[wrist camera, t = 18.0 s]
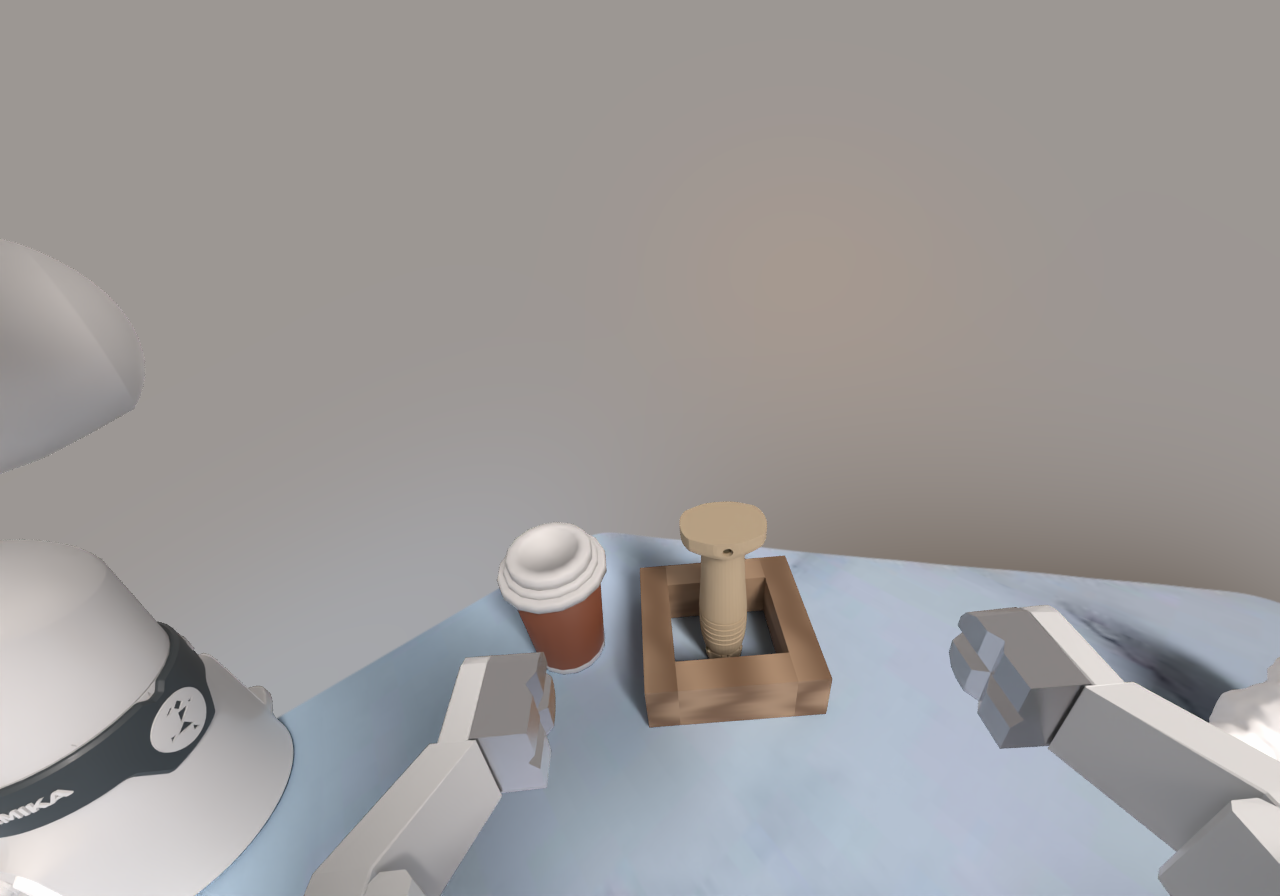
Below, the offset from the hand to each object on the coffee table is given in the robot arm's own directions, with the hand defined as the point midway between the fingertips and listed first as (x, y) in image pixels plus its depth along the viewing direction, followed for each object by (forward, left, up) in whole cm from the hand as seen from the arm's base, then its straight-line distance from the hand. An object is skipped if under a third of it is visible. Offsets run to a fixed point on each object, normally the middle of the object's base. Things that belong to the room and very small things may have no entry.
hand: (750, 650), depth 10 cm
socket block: (+3, +23, -31) cm, 39 cm away
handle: (+3, +23, -31) cm, 39 cm away
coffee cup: (-11, +25, -31) cm, 42 cm away
